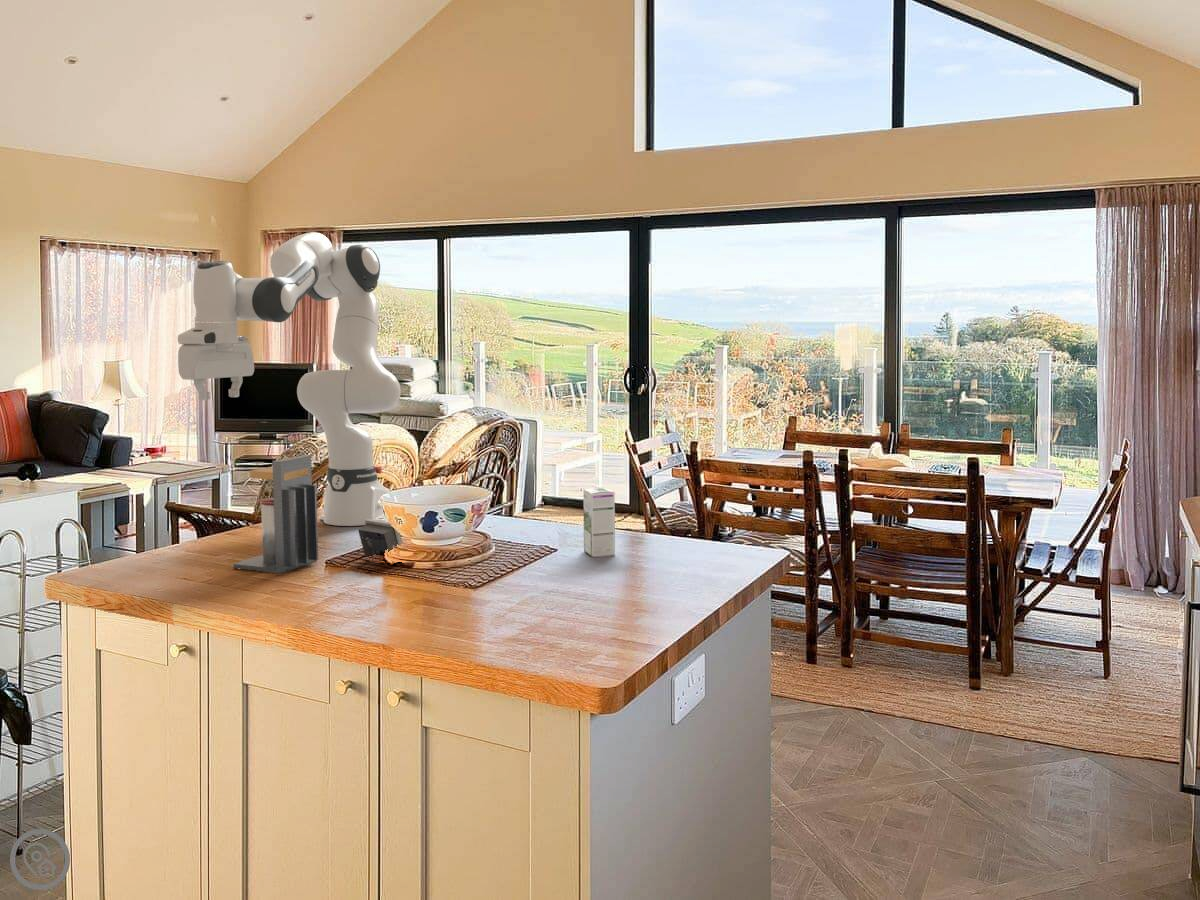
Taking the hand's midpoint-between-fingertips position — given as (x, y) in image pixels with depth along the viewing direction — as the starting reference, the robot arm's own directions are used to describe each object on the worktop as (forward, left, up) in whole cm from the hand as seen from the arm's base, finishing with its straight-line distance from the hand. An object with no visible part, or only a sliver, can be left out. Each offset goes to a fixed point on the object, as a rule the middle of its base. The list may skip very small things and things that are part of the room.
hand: (219, 398), depth 224 cm
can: (+8, +20, -33) cm, 39 cm away
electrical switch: (-2, +40, -34) cm, 53 cm away
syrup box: (-27, +80, -34) cm, 91 cm away
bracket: (+8, +20, -34) cm, 40 cm away
